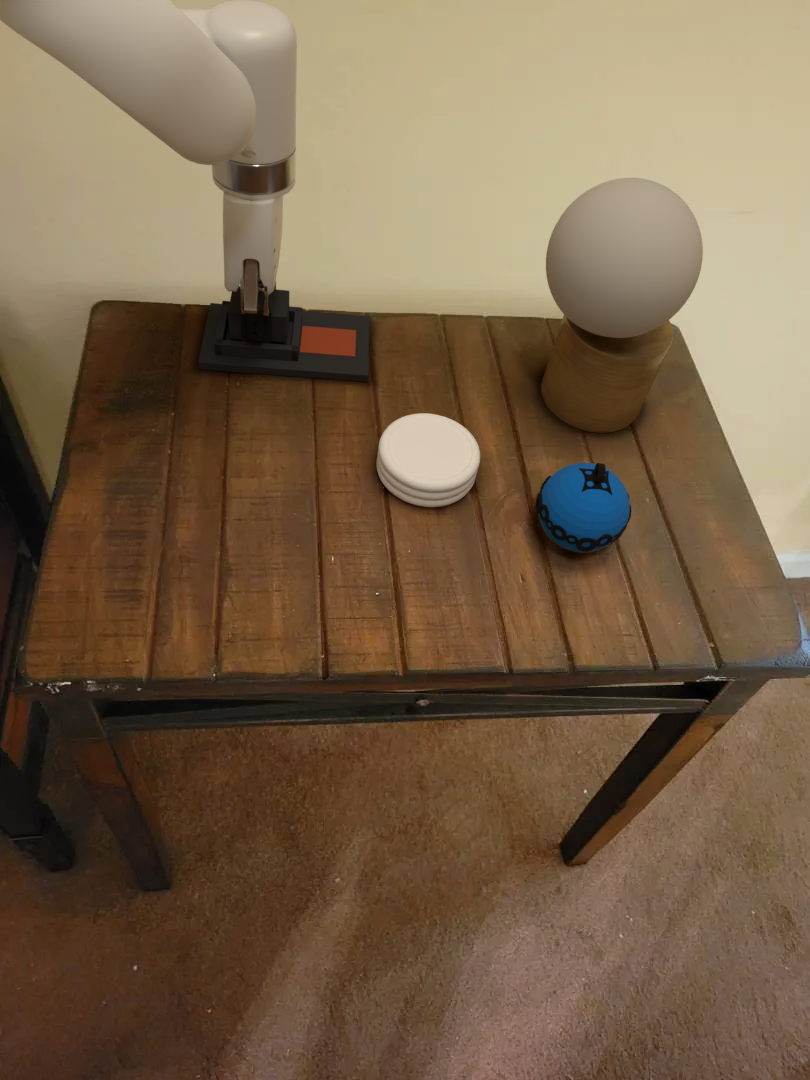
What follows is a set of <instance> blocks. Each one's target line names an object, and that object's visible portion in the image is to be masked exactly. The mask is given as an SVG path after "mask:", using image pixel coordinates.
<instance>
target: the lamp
mask: <svg viewBox="0 0 810 1080" xmlns="http://www.w3.org/2000/svg"><path fill="white" fill-rule="evenodd" d="M554 225H555V226H554V228H553V230H552V231H551V234H550V237H549V240H548V244H547V249H546V255H545V256H546V257H545V275H546V281H547V285H548V289H549V292H550V295H551V296H552V299H553V301H554V302H555V304H556V306H557V307H558V309H559V310H560V312H561V313H562V314H563V316H562V319H561V323H560V325H559V329H558V332H557V334H556V337H555V341H554V344H553V347H552V349H551V353H550V355H549V359H548V362H547V364H546V369H545V371H544V374H543V377H542V380H541V384H540V391H541V396H542V399H543V402H544V404H545V406H547V408H548V410H549V411H550V412H551V413H552V414H553V415H554V416H555V417H557V418H558V419H559V420H560V421H562V422H563V423H565V424H567V425H569V426H570V427H573V428H575V429H578V430H581V431H586V432H590V433H597V434H609V433H614V432H619V431H621V430H623V429H625V428H627V427H629V426H630V425H631V424H632V423H633V422H634V421H636V419H637V418H638V416H639V413H640V411H641V409H642V407H643V405H644V403H645V401H646V400H647V396H648V395H649V393H650V390H651V388H652V386H653V384H654V381H655V379H656V377H657V376H658V373H659V372H660V369H661V367H662V365H663V364H664V363H663V362H664V360H665V358H666V356H667V354H668V352H669V350H670V349H671V346H672V343H673V341H674V328H673V326H672V323H671V321H670V320H671V319H672V318H673V317H674V316H675V315H676V314H678V313H679V312H680V310H681V309H682V308H683V306H684V305H685V304H686V303H687V302H688V300H689V298H690V297H691V295H692V293H693V292H694V290H695V288H696V285H697V283H698V280H699V277H700V273H701V270H702V265H703V257H704V256H703V255H704V248H703V247H704V246H703V245H704V244H703V238H702V233H701V228H700V226H699V223H698V221H697V218H696V217H695V213H694V212H693V211H692V209H691V208H690V206H689V204H687V202H685V200H684V199H683V198H682V197H681V196H680V195H679V194H677V193H676V192H675V191H674V190H672V189H671V188H669V187H668V186H666V185H664V184H661V183H660V182H657V181H654V180H651V179H648V178H647V179H646V178H640V177H620V178H615V179H611V180H607V181H605V182H602V183H599V184H597V185H595V186H593V187H590V188H589V189H588V190H586V191H585V192H583V193H581V194H580V195H579V196H578V197H577V198H576V199H574V200H573V201H572V202H571V203H570V204H569V205H568V206H567V207H566V208H565V209H564V211H563V213H562V214H561V216H560V217H559V218H558V220H557V222H556V223H555V224H554Z"/></svg>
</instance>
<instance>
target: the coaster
mask: <svg viewBox="0 0 810 1080" xmlns="http://www.w3.org/2000/svg"><path fill="white" fill-rule="evenodd" d="M376 456H377V457H376V464H375V465H376V471H377V474H378V478H379V479H380V482H381V483H382V484H383V486H384V487H385V488H386V490H387V491H389V492H390V493H391V494H392V495H393V496H394V497H396V498H398V499H399V500H401V501H403V502H405V503H408V504H410V505H414V506H418V507H423V508H440V507H445V506H450V505H452V504H454V503H456V502H458V501H460V500H462V499H463V498H464V497H465V496H466V495H467V494H468V493H469V492H470V491H471V489H472V488H473V487H474V484H475V481H476V479H477V475H478V471H479V468H480V463H481V450H480V447H479V444H478V442H477V439H476V438H475V437H474V435H473V434H472V432H470V431H469V430H468V429H467V428H466V427H465V426H464V425H462V424H460V423H459V422H457V421H456V420H453V419H451V418H449V417H446V416H444V415H439V414H435V413H427V412H423V413H422V412H421V413H420V412H419V413H411V414H408V415H404V416H402V417H399V418H397V419H396V420H394V421H392V422H391V423H390V424H389V425H388V426H387V427H386V428H385V429H384V430H383V432H382V434H381V435H380V438H379V440H378V449H377V455H376Z"/></svg>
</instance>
